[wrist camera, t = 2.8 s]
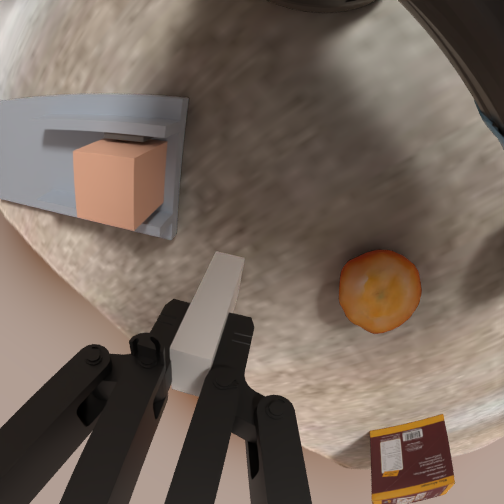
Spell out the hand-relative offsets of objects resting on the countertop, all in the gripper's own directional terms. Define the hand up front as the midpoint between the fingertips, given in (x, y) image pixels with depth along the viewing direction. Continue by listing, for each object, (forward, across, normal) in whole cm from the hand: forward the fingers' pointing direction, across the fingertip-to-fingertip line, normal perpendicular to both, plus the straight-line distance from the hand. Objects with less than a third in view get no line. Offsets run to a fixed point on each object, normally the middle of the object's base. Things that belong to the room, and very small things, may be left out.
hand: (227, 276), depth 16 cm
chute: (+14, -23, 0) cm, 27 cm away
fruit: (+14, +13, -6) cm, 20 cm away
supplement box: (+14, +38, -41) cm, 58 cm away
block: (+12, -12, 0) cm, 17 cm away
